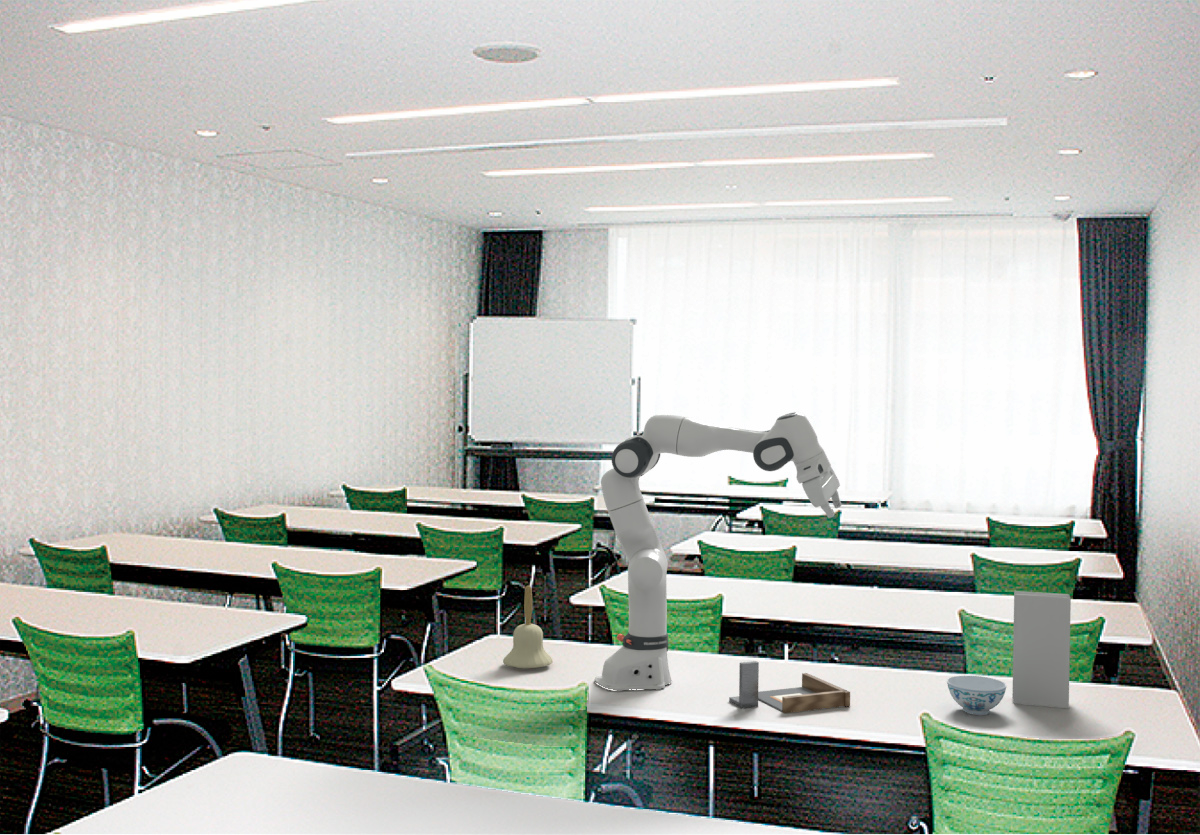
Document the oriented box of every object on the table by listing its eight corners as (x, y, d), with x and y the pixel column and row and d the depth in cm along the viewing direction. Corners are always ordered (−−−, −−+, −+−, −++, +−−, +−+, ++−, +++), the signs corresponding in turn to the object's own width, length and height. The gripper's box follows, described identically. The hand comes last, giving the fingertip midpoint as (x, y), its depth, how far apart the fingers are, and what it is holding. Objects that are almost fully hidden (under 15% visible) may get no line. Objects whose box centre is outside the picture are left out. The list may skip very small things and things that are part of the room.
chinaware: (963, 700, 308) (963, 672, 308) (1015, 711, 297) (1016, 683, 297) (936, 711, 297) (936, 682, 297) (989, 723, 287) (990, 693, 287)
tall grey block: (1067, 703, 306) (1069, 594, 305) (1069, 708, 301) (1071, 597, 300) (1012, 698, 310) (1014, 591, 310) (1012, 703, 305) (1014, 594, 305)
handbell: (492, 666, 342) (493, 584, 342) (531, 658, 352) (531, 579, 352) (524, 675, 331) (524, 591, 330) (563, 667, 341) (563, 586, 341)
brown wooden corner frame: (786, 714, 293) (786, 699, 293) (746, 693, 313) (746, 679, 313) (850, 706, 301) (850, 691, 301) (806, 686, 321) (806, 673, 321)
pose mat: (781, 711, 296) (781, 709, 296) (747, 694, 312) (747, 692, 312) (839, 704, 302) (839, 703, 302) (803, 688, 319) (803, 686, 319)
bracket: (758, 706, 300) (758, 662, 300) (741, 708, 298) (742, 663, 298) (745, 699, 307) (745, 656, 306) (729, 701, 305) (729, 658, 304)
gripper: (811, 461, 317) (832, 505, 317) (794, 480, 299) (817, 526, 299) (831, 453, 314) (852, 497, 315) (815, 471, 296) (838, 518, 296)
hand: (835, 511), depth 307 cm, fingers open, 8 cm apart
